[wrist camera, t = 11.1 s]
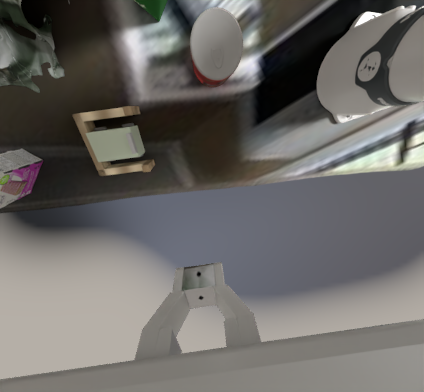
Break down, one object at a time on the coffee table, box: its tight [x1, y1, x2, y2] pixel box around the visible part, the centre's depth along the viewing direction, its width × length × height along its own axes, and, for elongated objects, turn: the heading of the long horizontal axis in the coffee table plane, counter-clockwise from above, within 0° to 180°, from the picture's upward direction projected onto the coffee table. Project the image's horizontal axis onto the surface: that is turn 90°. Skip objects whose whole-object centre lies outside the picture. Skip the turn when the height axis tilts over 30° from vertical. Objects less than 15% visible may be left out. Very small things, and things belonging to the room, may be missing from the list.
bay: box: [72, 106, 155, 176], centre depth 37 cm, size 12×13×5 cm
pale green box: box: [86, 123, 145, 162], centre depth 37 cm, size 9×7×6 cm
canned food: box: [190, 7, 243, 87], centre depth 29 cm, size 8×8×11 cm
